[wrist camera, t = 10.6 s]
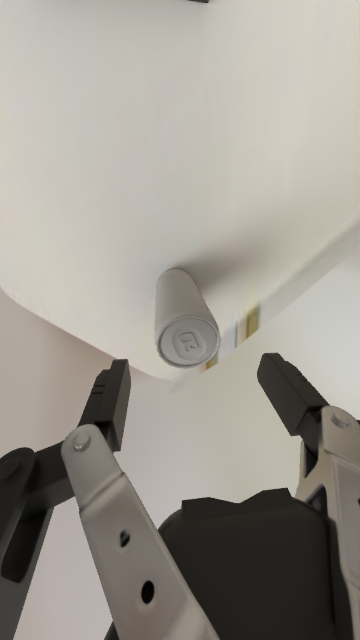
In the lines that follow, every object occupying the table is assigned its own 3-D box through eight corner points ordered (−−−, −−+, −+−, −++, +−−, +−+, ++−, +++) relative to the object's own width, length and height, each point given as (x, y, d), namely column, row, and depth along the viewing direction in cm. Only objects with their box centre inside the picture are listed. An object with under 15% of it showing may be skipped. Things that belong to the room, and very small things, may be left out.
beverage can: (165, 309, 25) (171, 378, 14) (148, 277, 22) (141, 331, 12) (199, 295, 24) (229, 356, 14) (185, 260, 22) (211, 303, 12)
